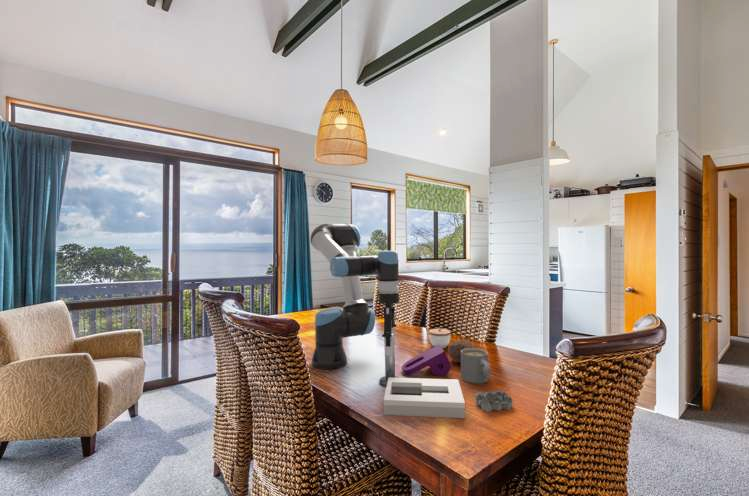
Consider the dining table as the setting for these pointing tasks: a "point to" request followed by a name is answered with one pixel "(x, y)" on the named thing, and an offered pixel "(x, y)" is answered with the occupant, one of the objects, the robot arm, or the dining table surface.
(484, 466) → the dining table surface
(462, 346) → the decorative rock
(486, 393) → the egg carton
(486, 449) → the dining table surface
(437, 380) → the keyhole plate
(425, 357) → the mounting bracket
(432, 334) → the lidded jar
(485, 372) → the coffee mug
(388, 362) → the headed peg
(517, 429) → the dining table surface
